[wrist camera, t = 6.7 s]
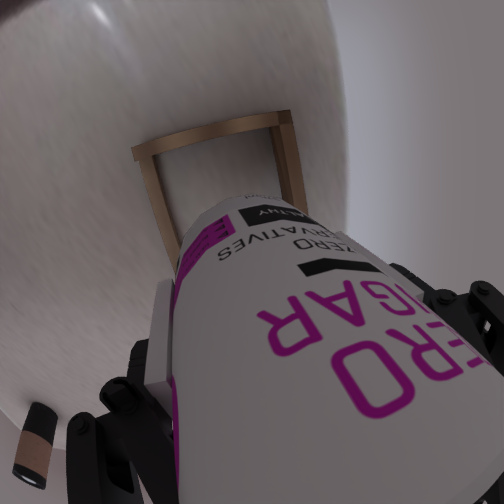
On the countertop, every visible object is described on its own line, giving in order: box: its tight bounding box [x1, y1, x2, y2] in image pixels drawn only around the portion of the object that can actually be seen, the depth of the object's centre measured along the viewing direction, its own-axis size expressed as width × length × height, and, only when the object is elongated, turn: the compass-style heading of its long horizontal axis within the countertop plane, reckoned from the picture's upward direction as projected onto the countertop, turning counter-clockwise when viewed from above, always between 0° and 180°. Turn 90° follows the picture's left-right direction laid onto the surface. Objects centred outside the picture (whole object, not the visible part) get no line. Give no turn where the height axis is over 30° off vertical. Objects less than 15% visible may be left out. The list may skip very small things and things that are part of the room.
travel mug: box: [12, 402, 58, 490], centre depth 30 cm, size 8×8×20 cm
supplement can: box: [172, 194, 504, 504], centre depth 9 cm, size 8×8×15 cm
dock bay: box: [131, 110, 308, 281], centre depth 30 cm, size 16×17×4 cm
